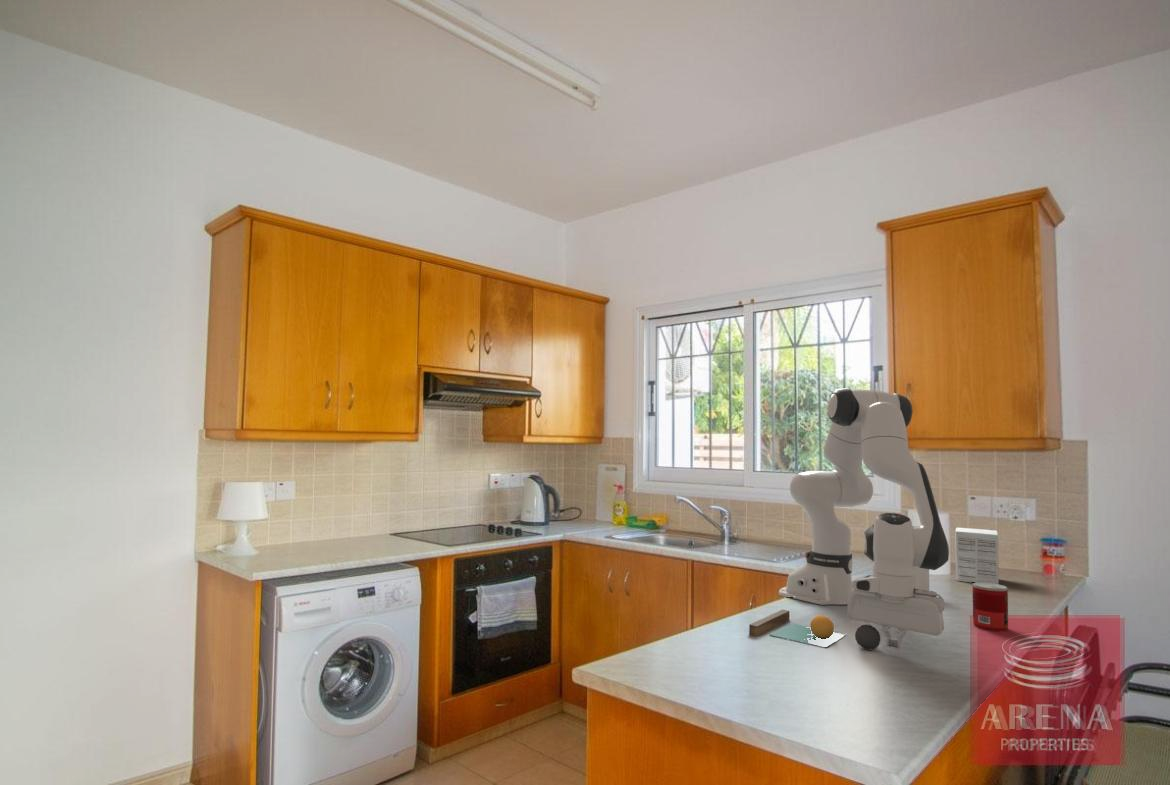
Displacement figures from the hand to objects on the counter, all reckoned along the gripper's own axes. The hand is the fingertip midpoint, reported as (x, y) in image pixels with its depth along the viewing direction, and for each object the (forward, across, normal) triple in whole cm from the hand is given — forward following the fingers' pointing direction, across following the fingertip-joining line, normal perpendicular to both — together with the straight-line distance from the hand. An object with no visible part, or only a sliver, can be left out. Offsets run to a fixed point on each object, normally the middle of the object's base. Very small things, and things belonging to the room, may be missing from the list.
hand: (894, 646), depth 153 cm
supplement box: (+2, +1, -110) cm, 110 cm away
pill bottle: (+2, +11, -66) cm, 67 cm away
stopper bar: (+2, +30, 0) cm, 30 cm away
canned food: (+2, -13, -42) cm, 44 cm away
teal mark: (+2, +20, 0) cm, 20 cm away
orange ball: (-1, +17, 0) cm, 17 cm away
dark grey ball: (-1, +6, +1) cm, 6 cm away
